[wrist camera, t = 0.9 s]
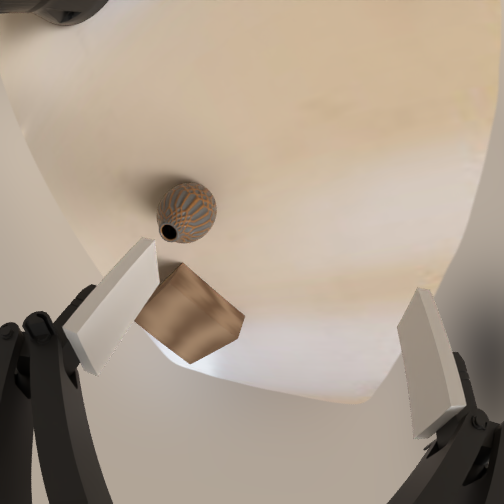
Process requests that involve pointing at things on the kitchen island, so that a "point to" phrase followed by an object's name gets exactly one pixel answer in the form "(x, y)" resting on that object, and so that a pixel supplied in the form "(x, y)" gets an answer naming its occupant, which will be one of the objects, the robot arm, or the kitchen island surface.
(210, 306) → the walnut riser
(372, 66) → the kitchen island surface
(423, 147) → the kitchen island surface
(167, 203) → the vase
